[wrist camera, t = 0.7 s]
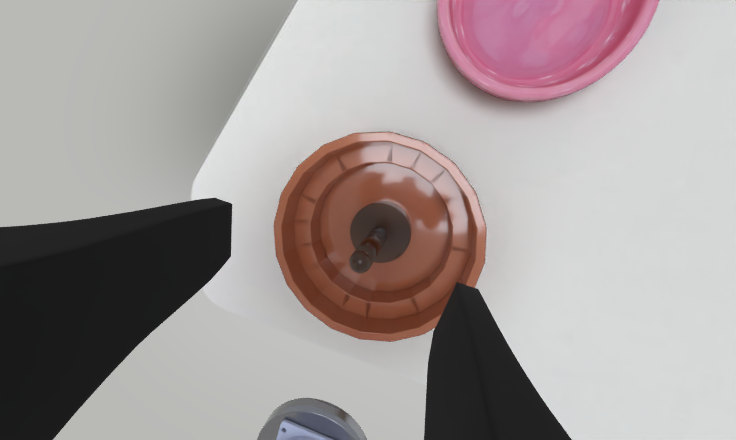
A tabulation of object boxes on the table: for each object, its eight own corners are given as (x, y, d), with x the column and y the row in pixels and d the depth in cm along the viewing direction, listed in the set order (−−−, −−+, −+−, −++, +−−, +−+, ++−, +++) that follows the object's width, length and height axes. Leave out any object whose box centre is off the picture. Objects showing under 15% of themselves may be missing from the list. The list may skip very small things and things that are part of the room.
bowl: (438, 333, 27) (441, 371, 22) (284, 276, 28) (255, 299, 23) (502, 169, 24) (522, 170, 19) (325, 117, 25) (301, 105, 20)
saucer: (624, 99, 21) (657, 89, 18) (437, 114, 24) (438, 107, 21) (640, -112, 19) (681, -164, 16) (434, -74, 22) (435, -113, 19)
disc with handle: (401, 265, 26) (387, 319, 16) (347, 246, 26) (305, 289, 17) (419, 211, 25) (415, 238, 15) (363, 193, 25) (328, 208, 16)
